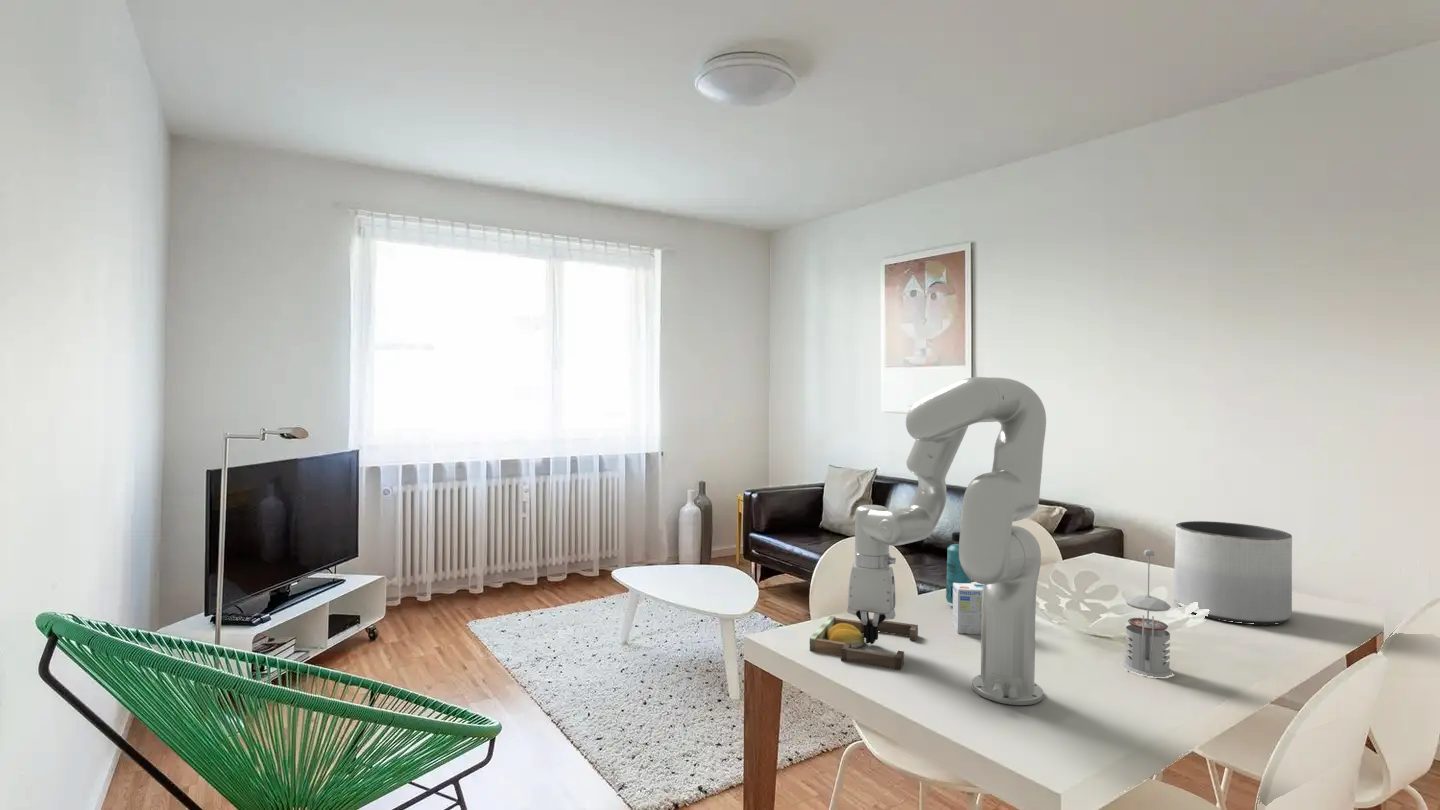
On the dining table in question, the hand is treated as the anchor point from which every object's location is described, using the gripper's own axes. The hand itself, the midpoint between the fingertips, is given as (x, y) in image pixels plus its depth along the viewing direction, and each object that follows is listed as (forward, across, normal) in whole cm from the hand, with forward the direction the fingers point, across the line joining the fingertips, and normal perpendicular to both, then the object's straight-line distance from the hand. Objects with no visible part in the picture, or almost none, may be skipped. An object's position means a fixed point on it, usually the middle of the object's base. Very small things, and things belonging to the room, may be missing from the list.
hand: (870, 641), depth 160 cm
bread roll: (+1, +6, 0) cm, 6 cm away
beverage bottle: (+1, -15, -40) cm, 43 cm away
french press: (+1, -55, -10) cm, 56 cm away
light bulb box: (+1, -21, -22) cm, 30 cm away
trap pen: (+1, +2, 0) cm, 2 cm away
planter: (+1, -81, -67) cm, 105 cm away
